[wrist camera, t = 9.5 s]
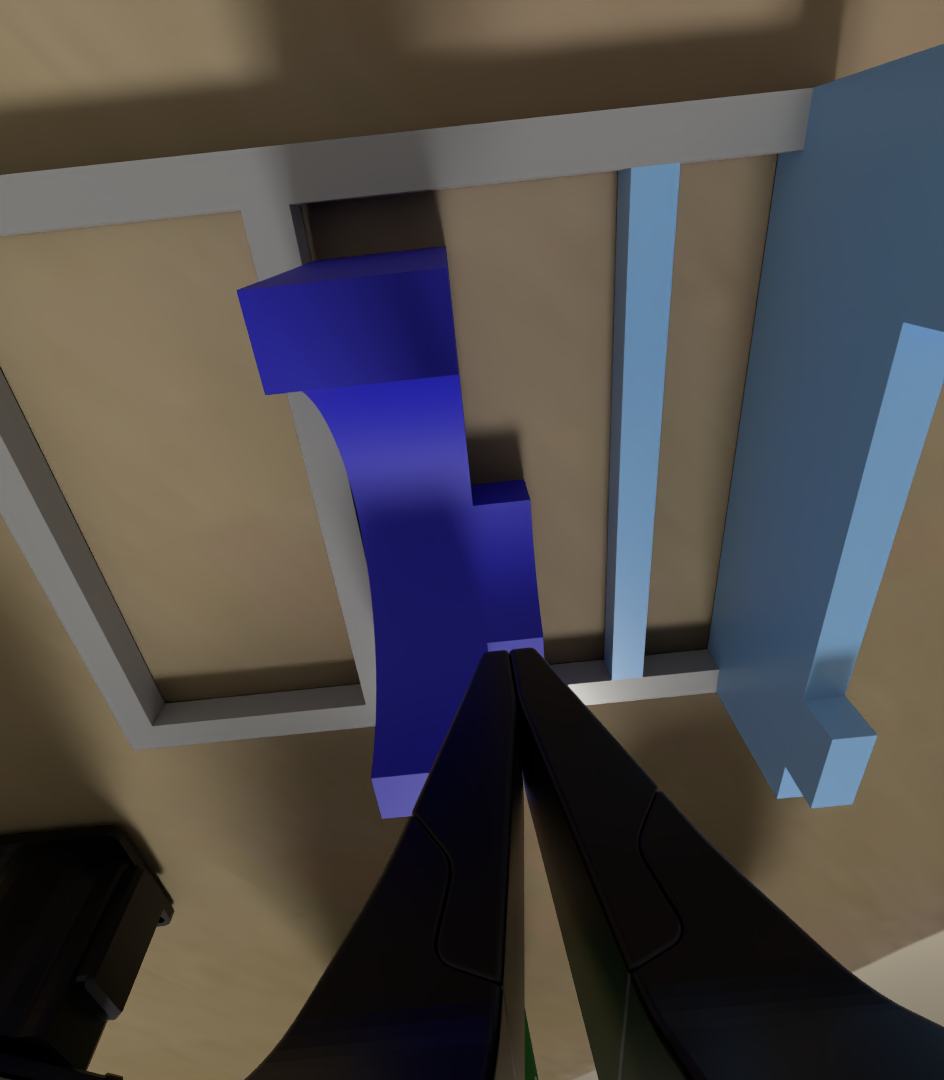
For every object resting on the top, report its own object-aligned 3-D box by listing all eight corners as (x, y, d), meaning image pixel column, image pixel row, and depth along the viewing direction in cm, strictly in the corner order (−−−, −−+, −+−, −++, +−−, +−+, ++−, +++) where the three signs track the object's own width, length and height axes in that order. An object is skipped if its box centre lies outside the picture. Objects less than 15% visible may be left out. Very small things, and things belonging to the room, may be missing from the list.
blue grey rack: (146, 727, 20) (38, 915, 15) (-134, 195, 12) (-591, 182, 7) (732, 668, 20) (839, 837, 15) (834, 91, 12) (1150, -6, 7)
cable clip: (532, 641, 19) (565, 800, 14) (398, 655, 19) (381, 819, 14) (510, 238, 13) (553, 255, 8) (317, 259, 13) (236, 289, 8)
